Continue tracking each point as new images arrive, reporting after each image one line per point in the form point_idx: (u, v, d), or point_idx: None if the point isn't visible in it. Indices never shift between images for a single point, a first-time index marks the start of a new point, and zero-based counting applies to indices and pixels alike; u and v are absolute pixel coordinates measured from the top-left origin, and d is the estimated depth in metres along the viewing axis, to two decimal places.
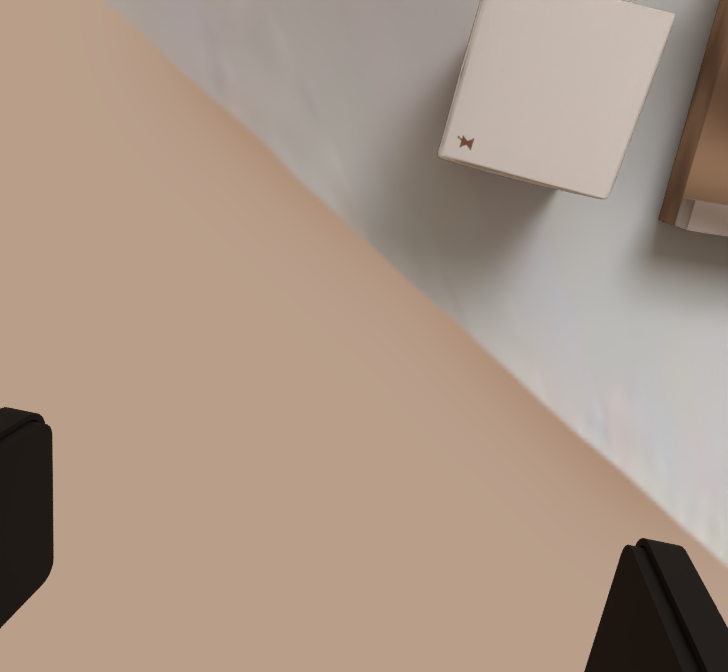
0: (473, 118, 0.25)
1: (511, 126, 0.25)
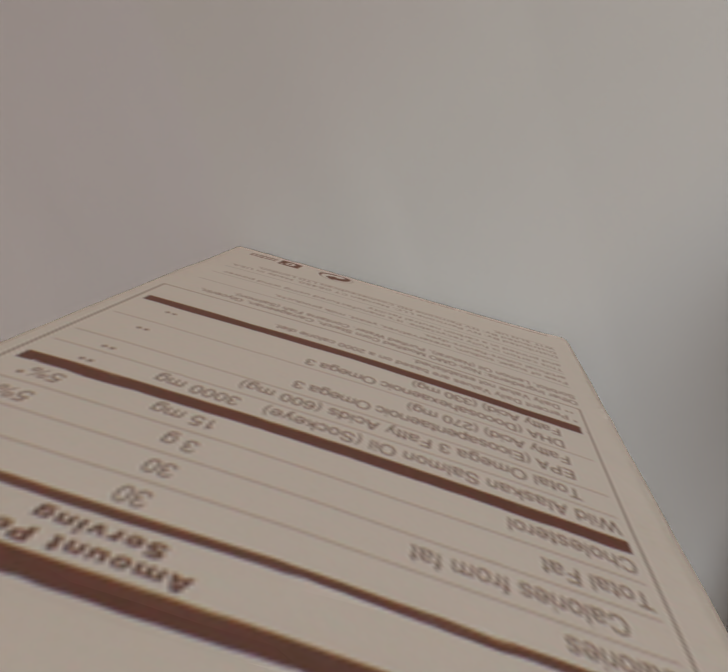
0: None
1: None
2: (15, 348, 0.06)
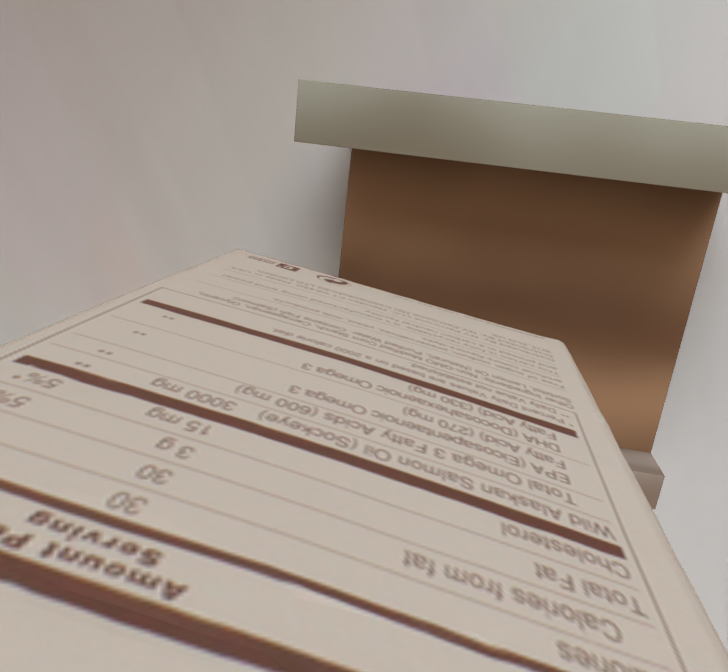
0: None
1: None
2: (12, 353, 0.06)
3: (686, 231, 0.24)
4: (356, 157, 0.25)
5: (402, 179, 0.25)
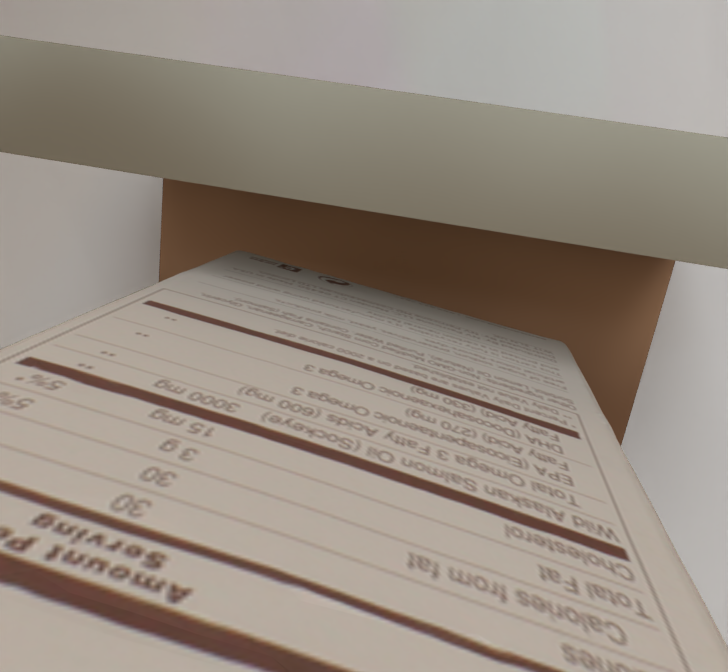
0: None
1: None
2: (15, 355, 0.06)
3: (633, 280, 0.17)
4: None
5: (236, 192, 0.18)
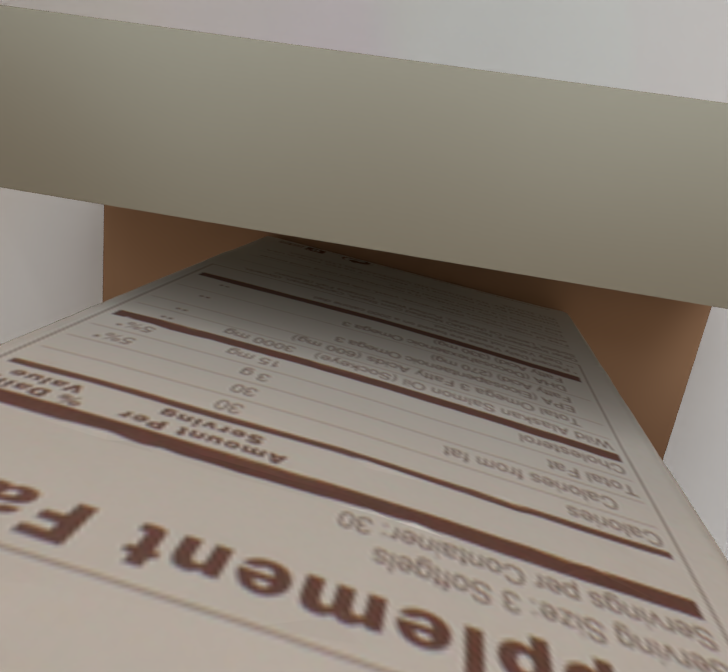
0: None
1: None
2: (109, 308, 0.08)
3: (667, 306, 0.14)
4: None
5: None
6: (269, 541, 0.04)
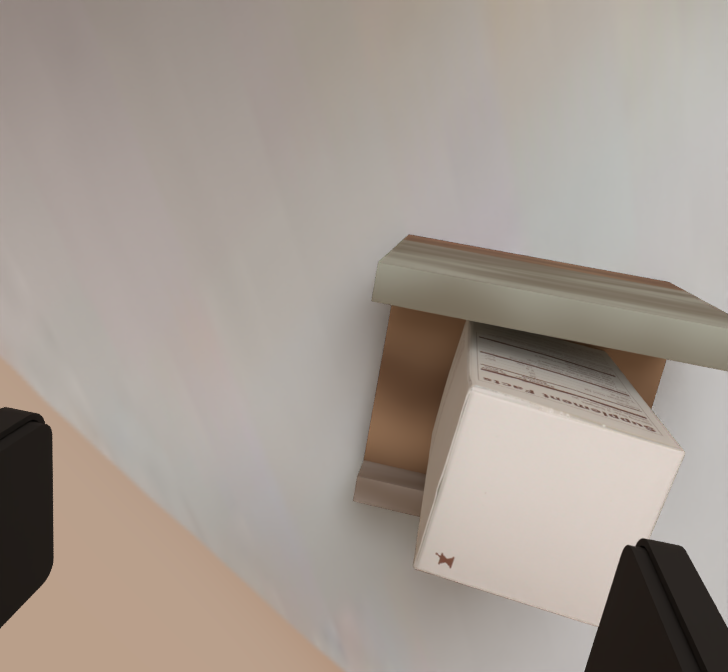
0: (453, 537, 0.22)
1: (496, 549, 0.22)
2: (477, 350, 0.25)
3: None
4: None
5: None
6: (563, 397, 0.22)
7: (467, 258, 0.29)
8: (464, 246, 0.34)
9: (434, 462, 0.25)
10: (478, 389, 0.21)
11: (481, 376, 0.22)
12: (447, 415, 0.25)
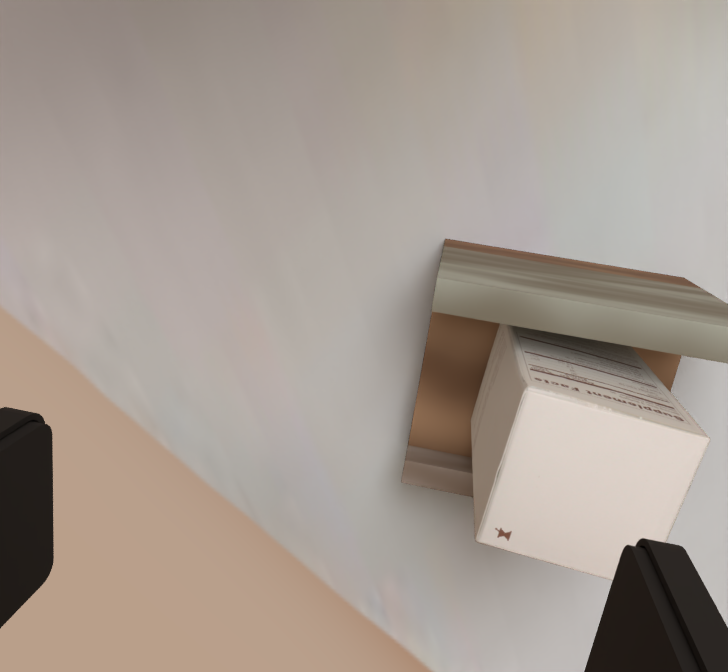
0: (510, 515, 0.26)
1: (548, 524, 0.26)
2: (521, 350, 0.29)
3: None
4: None
5: None
6: (603, 393, 0.26)
7: (506, 265, 0.33)
8: (497, 249, 0.37)
9: (486, 449, 0.29)
10: (533, 389, 0.24)
11: (532, 376, 0.26)
12: (497, 408, 0.29)
